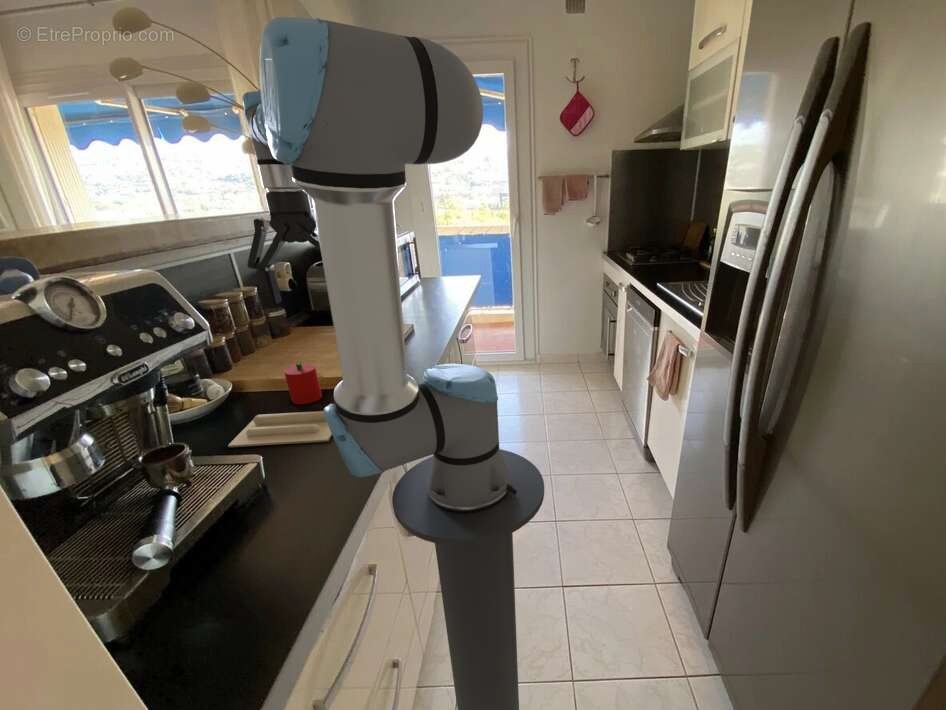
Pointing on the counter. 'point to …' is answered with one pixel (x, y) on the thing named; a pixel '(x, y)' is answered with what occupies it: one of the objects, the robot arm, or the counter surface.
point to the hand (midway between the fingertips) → (311, 301)
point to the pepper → (303, 383)
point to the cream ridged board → (284, 429)
